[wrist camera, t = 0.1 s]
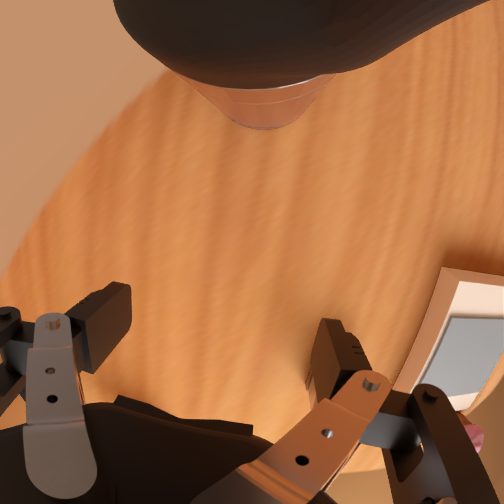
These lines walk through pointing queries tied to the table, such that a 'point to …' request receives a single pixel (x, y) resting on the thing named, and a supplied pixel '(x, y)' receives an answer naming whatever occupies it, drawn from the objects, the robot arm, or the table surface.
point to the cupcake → (472, 432)
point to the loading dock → (458, 337)
